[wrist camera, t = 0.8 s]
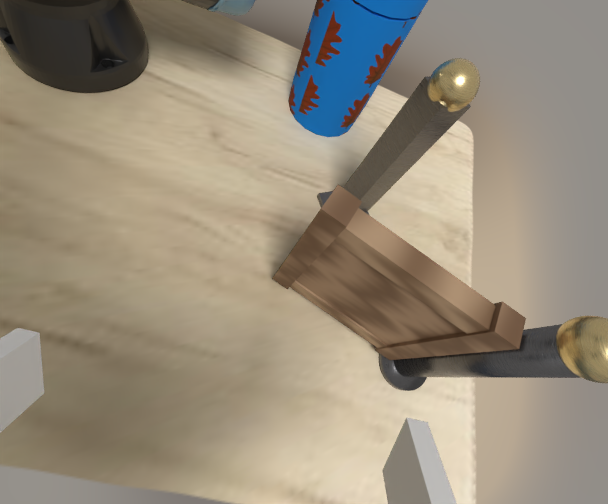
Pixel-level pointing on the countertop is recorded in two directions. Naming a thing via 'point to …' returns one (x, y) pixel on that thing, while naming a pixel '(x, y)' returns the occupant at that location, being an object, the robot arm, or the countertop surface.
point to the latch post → (414, 130)
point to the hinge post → (518, 357)
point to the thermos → (347, 59)
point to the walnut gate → (391, 288)
